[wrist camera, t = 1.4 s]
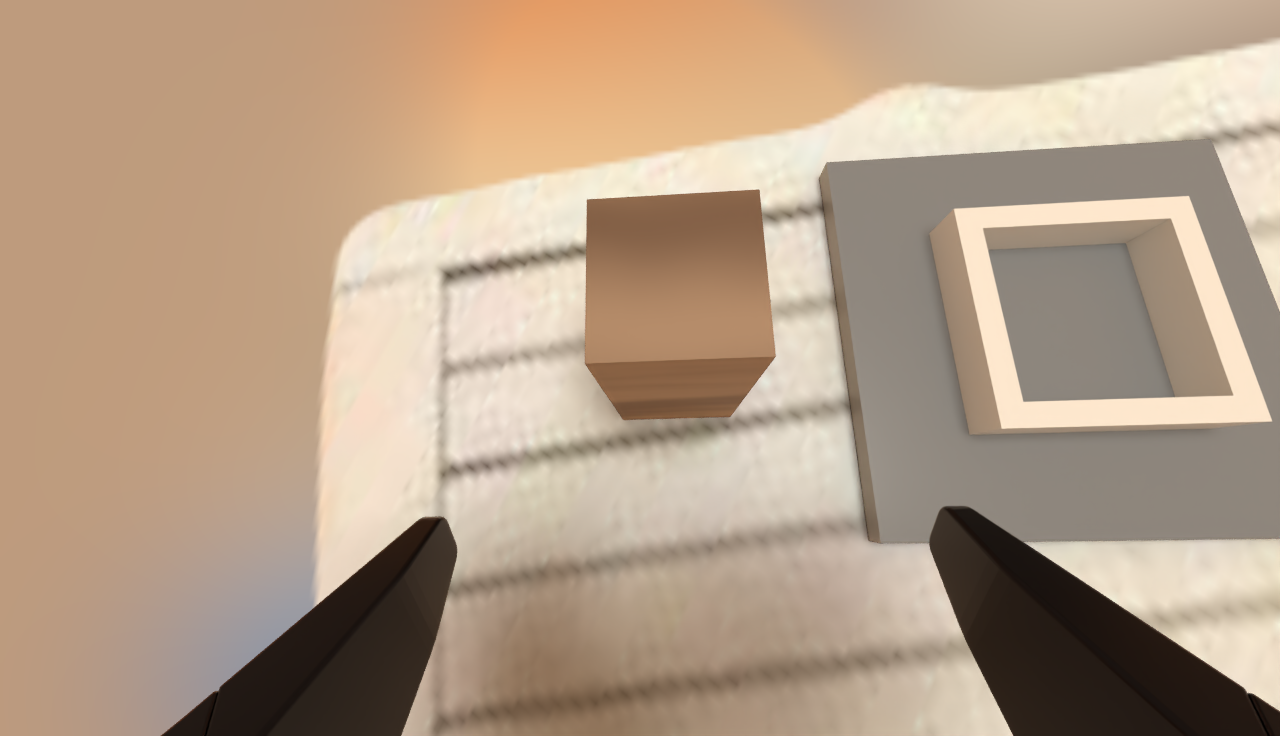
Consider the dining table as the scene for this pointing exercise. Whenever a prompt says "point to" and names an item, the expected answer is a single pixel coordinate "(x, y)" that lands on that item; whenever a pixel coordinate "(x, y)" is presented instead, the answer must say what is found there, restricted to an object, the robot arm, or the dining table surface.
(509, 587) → the dining table surface
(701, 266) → the walnut block
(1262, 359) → the socket plate
